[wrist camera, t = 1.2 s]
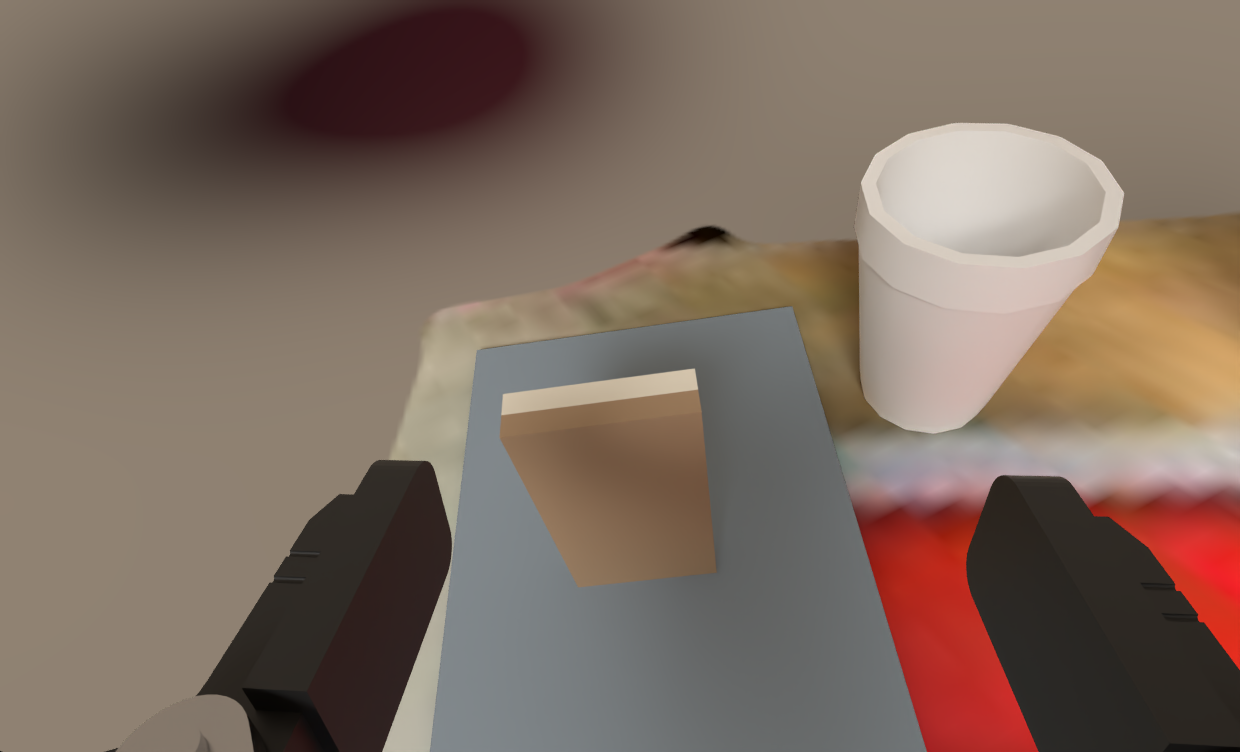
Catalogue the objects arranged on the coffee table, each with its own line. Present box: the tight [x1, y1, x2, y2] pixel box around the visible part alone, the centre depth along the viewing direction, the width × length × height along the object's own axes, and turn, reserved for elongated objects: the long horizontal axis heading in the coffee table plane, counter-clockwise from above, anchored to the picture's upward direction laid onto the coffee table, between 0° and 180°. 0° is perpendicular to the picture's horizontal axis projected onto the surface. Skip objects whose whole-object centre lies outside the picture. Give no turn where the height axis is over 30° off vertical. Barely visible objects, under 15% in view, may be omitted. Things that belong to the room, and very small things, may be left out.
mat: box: [430, 306, 927, 752], centre depth 33 cm, size 20×28×1 cm
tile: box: [500, 369, 717, 587], centre depth 27 cm, size 2×7×13 cm, turn 93°
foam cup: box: [854, 123, 1124, 434], centre depth 32 cm, size 10×9×13 cm
